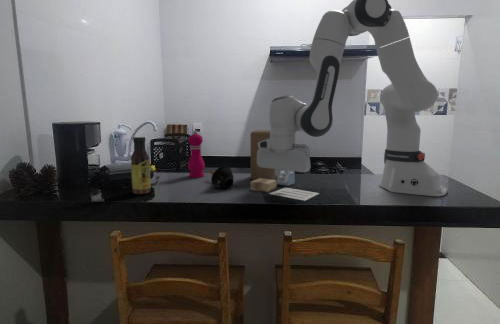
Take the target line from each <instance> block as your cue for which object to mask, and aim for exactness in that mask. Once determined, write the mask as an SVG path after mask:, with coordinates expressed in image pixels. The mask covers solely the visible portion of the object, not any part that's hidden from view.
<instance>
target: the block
mask: <svg viewBox="0 0 500 324" xmlns="http://www.w3.org/2000/svg"><path fill="white" fill-rule="evenodd" d="M270 131H271V129H270V130H267V129H266V130H265V129H264V130H263V129H260V130H259V129H256V130H254V131H252V132H250V179H251V180H252V181H254V180H257V179H259V178H263V179H271V180H276V179H277V174H276V172H275V169H270V168H262V167H259V166H258V165H257V151H258V149H259V147H258V142H261V141H264V140H266V139H270Z"/></svg>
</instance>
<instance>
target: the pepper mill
mask: <svg viewBox="0 0 500 324" xmlns="http://www.w3.org/2000/svg"><path fill="white" fill-rule="evenodd" d="M203 141H204V139H203V137H202V135H201V134H198V130H193V132H192V134H191V135H189V137H188V144H190V145H189V149H190V158H189V161H188V164H187V168H188V170H189V171H190V172H189V178H193V179H197V178H198V179H199V178H203V177H204V176H205V172H204V169H206V166H205V161H204V159H203V156H202V151H201V150H202V148H203V147H202V143H203Z"/></svg>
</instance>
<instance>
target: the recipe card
mask: <svg viewBox="0 0 500 324" xmlns="http://www.w3.org/2000/svg"><path fill="white" fill-rule="evenodd" d="M319 194H320V193H319V192H313V191H308V190H304V189H303V190H302V189H295V188H290V187H283V188H280V189H278V190H275V191H272V192H269V195H273V196H277V197H279V196H280V197H283V198H289V199H294V200H300V201H304V202H305V201H307V200H310V199H311V198H313V197H315V196H318V195H319Z"/></svg>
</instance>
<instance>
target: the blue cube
mask: <svg viewBox="0 0 500 324" xmlns="http://www.w3.org/2000/svg"><path fill="white" fill-rule="evenodd" d="M295 173H296V171H291V173H290V174H289V176H288V182H286V183H285V182H279V181H278V176H276V180H277V185H281V186H287V187H289V186H291V185H294V184H295V183H296V182H295V181H296V180H295V179H296V178H295V177H296V174H295ZM281 174H282V176H285V174H286V173H284V170H282V171H281Z"/></svg>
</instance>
